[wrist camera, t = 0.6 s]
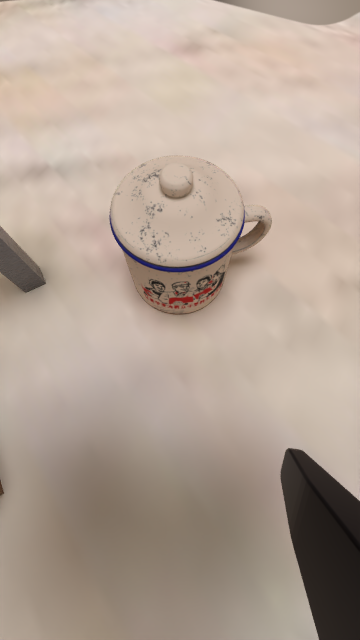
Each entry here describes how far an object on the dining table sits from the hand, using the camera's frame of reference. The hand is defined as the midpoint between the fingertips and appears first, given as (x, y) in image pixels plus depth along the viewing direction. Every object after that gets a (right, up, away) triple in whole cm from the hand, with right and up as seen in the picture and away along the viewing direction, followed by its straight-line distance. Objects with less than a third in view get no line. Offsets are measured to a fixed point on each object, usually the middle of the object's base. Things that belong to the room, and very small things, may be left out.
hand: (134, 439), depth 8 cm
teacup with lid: (+3, +8, +19) cm, 21 cm away
